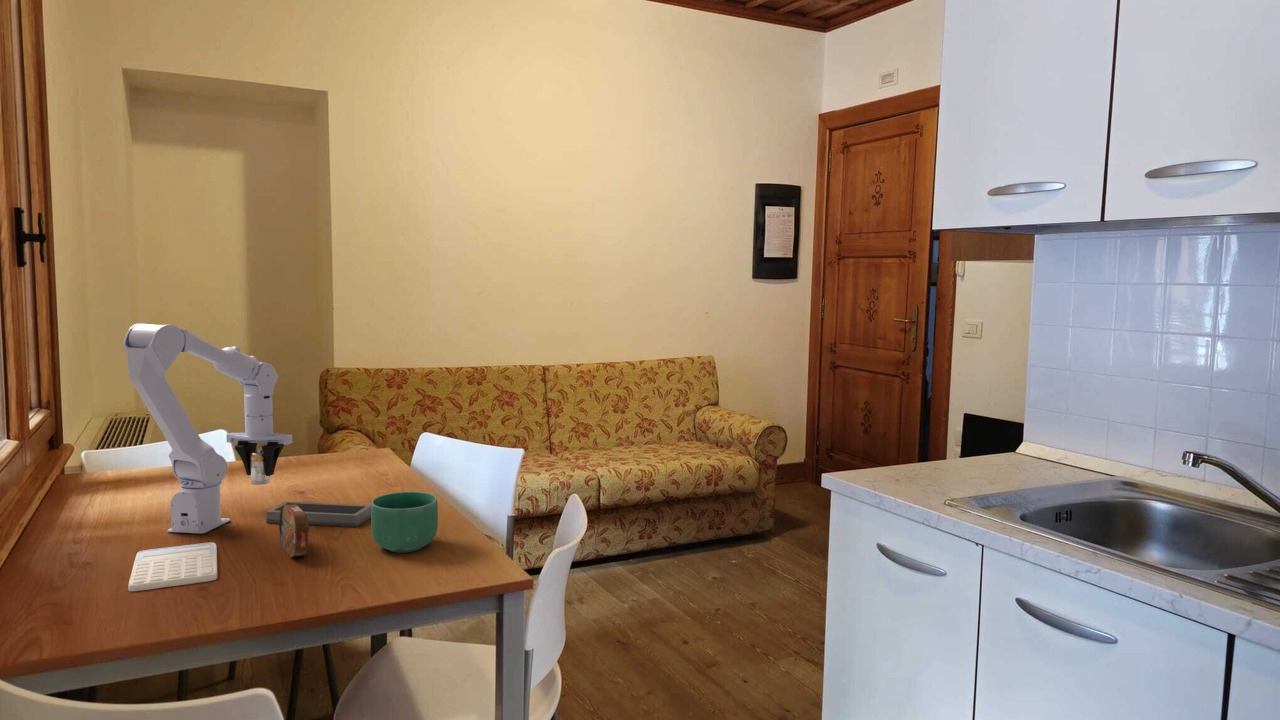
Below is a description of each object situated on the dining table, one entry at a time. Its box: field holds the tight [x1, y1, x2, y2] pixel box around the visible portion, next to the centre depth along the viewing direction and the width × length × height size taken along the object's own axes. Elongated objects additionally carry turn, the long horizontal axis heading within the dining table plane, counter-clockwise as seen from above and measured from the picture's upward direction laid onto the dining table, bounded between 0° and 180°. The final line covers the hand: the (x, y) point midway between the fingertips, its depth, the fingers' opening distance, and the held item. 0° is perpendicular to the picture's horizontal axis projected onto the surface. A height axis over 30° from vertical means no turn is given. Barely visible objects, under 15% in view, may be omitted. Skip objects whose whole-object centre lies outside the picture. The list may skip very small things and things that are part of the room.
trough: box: [265, 501, 371, 528], centre depth 180 cm, size 8×20×2 cm, turn 84°
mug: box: [370, 491, 439, 553], centre depth 164 cm, size 17×13×10 cm
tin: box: [278, 504, 310, 559], centre depth 159 cm, size 15×3×8 cm, turn 34°
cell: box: [250, 448, 271, 486], centre depth 187 cm, size 4×4×8 cm
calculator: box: [127, 542, 218, 592], centre depth 149 cm, size 13×20×2 cm, turn 27°
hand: (260, 474), depth 187 cm, fingers closed on cell, 4 cm apart
